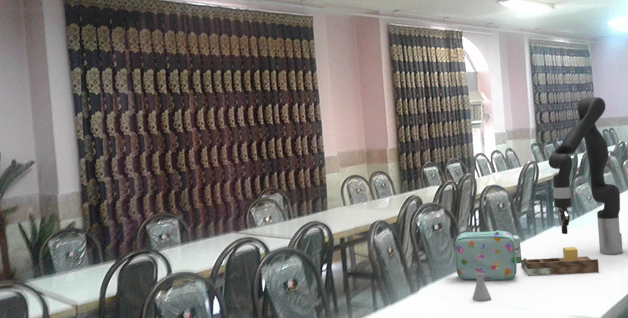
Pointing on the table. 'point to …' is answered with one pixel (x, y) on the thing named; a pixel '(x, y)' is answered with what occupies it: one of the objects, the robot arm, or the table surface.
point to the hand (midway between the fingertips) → (564, 233)
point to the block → (570, 253)
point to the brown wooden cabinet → (559, 266)
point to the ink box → (517, 248)
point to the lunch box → (486, 255)
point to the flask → (481, 289)
